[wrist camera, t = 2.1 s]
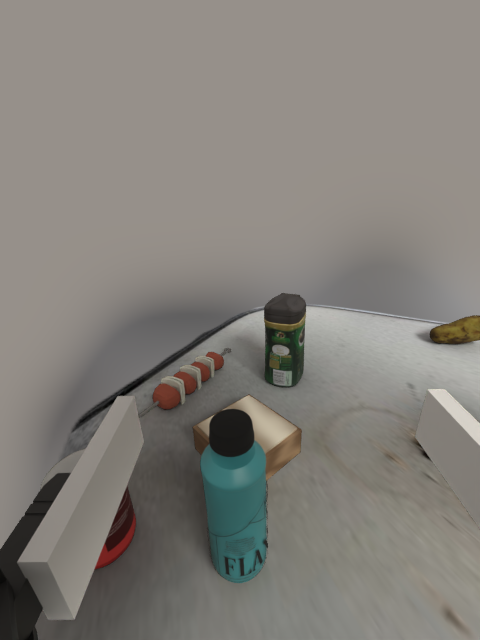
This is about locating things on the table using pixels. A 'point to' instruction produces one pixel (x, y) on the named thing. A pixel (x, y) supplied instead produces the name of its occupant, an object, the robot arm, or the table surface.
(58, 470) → the canned food
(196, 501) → the table surface
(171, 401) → the skewer
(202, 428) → the walnut pedestal
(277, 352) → the coffee jar
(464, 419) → the robot arm
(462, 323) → the potato
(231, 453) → the beverage bottle
